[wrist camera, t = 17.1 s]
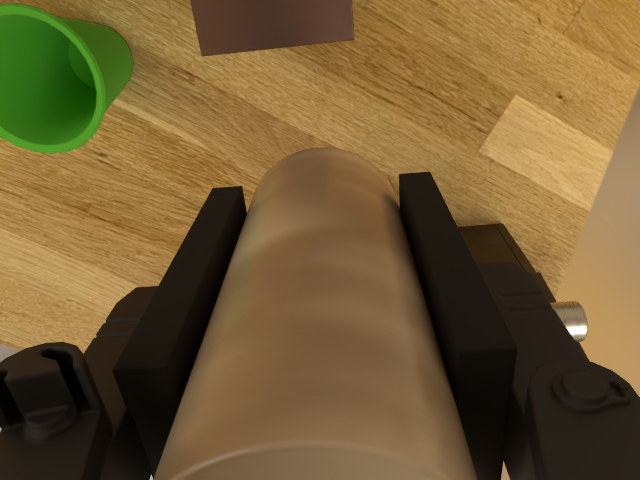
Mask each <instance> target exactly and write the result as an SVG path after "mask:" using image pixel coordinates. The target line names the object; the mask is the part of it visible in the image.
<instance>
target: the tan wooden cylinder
mask: <svg viewBox="0 0 640 480" xmlns="http://www.w3.org/2000/svg"><path fill="white" fill-rule="evenodd" d="M153 480H478V479H477V475H476V472H475V468H474V465H473V461H472V458H471V454H470V451H469V448H468V444H467V441H466V437H465V434H464V430H463V427H462V423H461V420H460V416H459V413H458V410H457V406H456V403H455V399H454V396H453V392H452V389H451V385H450V382H449V378H448V375H447V372H446V368H445V365H444V361H443V358H442V354H441V351H440V347H439V344H438V341H437V337H436V334H435V330H434V327H433V323H432V320H431V316H430V313H429V309H428V306H427V303H426V299H425V296H424V292H423V289H422V285H421V282H420V278H419V275H418V272H417V268H416V265H415V261H414V258H413V254H412V251H411V247H410V244H409V240H408V237H407V234H406V230H405V227H404V223H403V220H402V216H401V213H400V209H399V206H398V202H397V199H396V196H395V193H394V191H393V188H392V186H391V185H390V183H389V181H388V180H387V178H386V177H385V176H384V175H383V173H382V172H381V171H380V170H379V169H378V168H377V167H376V166H375V165H373V164H372V163H370V162H369V161H368V160H366V159H364V158H363V157H361V156H359V155H357V154H354V153H351V152H349V151H345V150H341V149H335V148H313V149H307V150H303V151H300V152H297V153H294V154H292V155H290V156H287V157H286V158H284V159H282V160H281V161H279V162H278V163H277V164H275V165H274V166H273V167H272V168H271V169H270V170H269V171H268V172H267V173H266V174H265V175H264V176H263V178H262V179H261V181H260V182H259V184H258V186H257V188H256V190H255V193H254V195H253V198H252V201H251V204H250V207H249V210H248V212H247V215H246V218H245V221H244V224H243V227H242V230H241V232H240V235H239V238H238V241H237V244H236V247H235V249H234V252H233V255H232V258H231V261H230V264H229V266H228V269H227V272H226V275H225V278H224V281H223V283H222V286H221V289H220V292H219V295H218V298H217V300H216V303H215V306H214V309H213V312H212V315H211V317H210V320H209V323H208V326H207V329H206V332H205V334H204V337H203V340H202V343H201V346H200V349H199V351H198V354H197V357H196V360H195V363H194V366H193V369H192V371H191V374H190V377H189V380H188V383H187V386H186V388H185V391H184V394H183V397H182V400H181V403H180V405H179V408H178V411H177V414H176V417H175V420H174V422H173V425H172V428H171V431H170V434H169V437H168V439H167V442H166V445H165V448H164V451H163V454H162V456H161V459H160V462H159V465H158V468H157V471H156V473H155V476H154V479H153Z"/></svg>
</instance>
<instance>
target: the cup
mask: <svg viewBox="0 0 640 480" xmlns="http://www.w3.org/2000/svg"><path fill="white" fill-rule="evenodd" d="M132 72H133V59H132V54H131V52H130V49H129V47H128V45H127V44H126V42H125V41H124V39H123V38H122V37H121V36H120V35H119V34H118V33H117V32H115V31H114V30H112V29H111V28H109V27H107V26H104V25H101V24H96V23H90V22H85V21H79V20H74V19H69V18H63V17H58V16H53V15H52V14H50V13H48V12H46V11H43V10H40V9H38V8H35V7H32V6H30V5H22V4H14V3H8V4H1V5H0V137H2V138H3V139H5V140H7V141H9V142H10V143H12V144H14V145H16V146H18V147H21V148H24V149H27V150H30V151H33V152H41V153H49V154H54V153H62V152H68V151H71V150H73V149H75V148H78V147H80V146H82V145H83V144H84V143H86V142H87V141H88V140H89V139H91V138H92V137H93V135H94V134H95V132H96V131H97V129H98V128H99V126H100V125H101V122H102V119H103V116H104V112H105V111H106V110H107V109H108V107H109V106H110V105H111V103H112V102H113V101H114V100H115V98H116V97H117V96H118V94H119V93H120V92H121V91H122V89H123V88H124V87H125V85H126V84H127V83H128V81H129V80H130V78H131V75H132Z"/></svg>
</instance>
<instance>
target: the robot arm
mask: <svg viewBox="0 0 640 480" xmlns="http://www.w3.org/2000/svg"><path fill="white" fill-rule="evenodd" d="M399 196H400V213H401V216H402V220H403V223H404V227H405V230H406V234H407V237H408V240H409V244H410V247H411V251H412V254H413V258H414V261H415V265H416V268H417V272H418V275H419V278H420V282H421V285H422V289H423V292H424V296H425V299H426V303H427V306H428V309H429V313H430V316H431V320H432V323H433V327H434V330H435V334H436V337H437V341H438V344H439V347H440V351H441V354H442V358H443V361H444V365H445V368H446V372H447V375H448V378H449V382H450V385H451V389H452V392H453V396H454V399H455V403H456V406H457V410H458V413H459V416H460V420H461V423H462V427H463V430H464V434H465V437H466V441H467V444H468V448H469V451H470V454H471V458H472V461H473V465H474V468H475V472H476V475H477V479H478V480H501V474H502V466H503V460H504V463H505V466H506V469H507V472H508V474H509V477H510V480H640V397H639V396H638V395H637V394H636V392H635V391H634V390H633V388H632V387H631V385H630V384H629V383H628V382H627V381H625V380H624V379H623V378H621V377H620V376H619V375H617V374H616V373H615V372H613V371H611V370H609V369H607V368H605V367H602V366H600V365H597V364H595V363H593V362H589V361H588V359H587V358H586V356H585V355H584V353H583V352H582V350H581V349H580V347H579V346H578V344H577V343H576V341H575V340H574V338H573V337H572V335H571V334H570V332H569V331H568V329H567V328H566V326H565V325H564V323H563V322H562V320H561V319H560V317H559V316H558V314H557V313H556V311H555V310H554V309H552V305H551V304H550V302H549V301H548V299H547V298H546V296H545V295H543V294H542V290H541V289H540V287H539V286H538V284H537V283H536V281H535V280H534V278H533V277H532V275H531V274H529V273H528V272H526V271H525V270H523V269H522V268H520V267H519V266H517V265H516V264H514V263H513V262H495V263H480V264H476V263H475V261H474V259H473V257H472V255H471V253H470V251H469V249H468V247H467V245H466V243H465V241H464V239H463V237H462V235H461V233H460V231H459V229H458V227H457V225H456V223H455V221H454V219H453V217H452V215H451V213H450V211H449V209H448V207H447V205H446V203H445V201H444V199H443V197H442V195H441V193H440V191H439V189H438V187H437V185H436V183H435V181H434V179H433V177H432V175H431V173H430V172H420V173H407V174H399ZM246 215H247V212H246V206H245V200H244V194H243V189H242V186H237V187H224V188H213V189H212V190H211V192H210V194H209V196H208V198H207V200H206V201H205V203H204V205H203V207H202V209H201V210H200V212H199V214H198V216H197V218H196V219H195V221H194V223H193V225H192V227H191V228H190V230H189V232H188V234H187V236H186V237H185V239H184V241H183V243H182V245H181V246H180V248H179V250H178V252H177V254H176V255H175V257H174V259H173V261H172V263H171V264H170V266H169V268H168V270H167V272H166V274H165V275H164V277H163V279H162V281H161V283H160V284H159V286H153V287H137V288H135V289H134V290H133V291H131V292H130V293H129V294H127V295H126V296H125V297H124V298H122V299H121V300H120V301H119V302H117V303H116V305H115V307H114V308H113V310H112V311H111V313H110V314H109V316H108V317H107V319H106V323H103V325H102V326H101V328H100V330H99V331H98V333H97V334H96V335H97V337H96V338H94V339H93V340H92V342H91V343H90V345H89V346H88V348H87V349H86V351H85V353H84V354H83V353H82V352H81V351H80V349H79V348H78V347H77V346H76V345H72V344H69V343H65V342H55V343H44V344H41V345H37V346H33V347H30V348H26V349H24V350H22V351H20V352H18V353H16V354H14V355H12V356H10V357H8V358H6V359H4V360H3V361H2V362H0V427H1V428H2V430H1V432H0V480H149V479H150V476H151V474H152V477H153V479H154V476H155V473H156V471H157V468H158V465H159V462H160V459H161V456H162V454H163V451H164V448H165V445H166V442H167V439H168V437H169V434H170V431H171V428H172V425H173V422H174V420H175V417H176V414H177V411H178V408H179V405H180V403H181V400H182V397H183V394H184V391H185V388H186V386H187V383H188V380H189V377H190V374H191V371H192V369H193V366H194V363H195V360H196V357H197V354H198V351H199V349H200V346H201V343H202V340H203V337H204V334H205V332H206V329H207V326H208V323H209V320H210V317H211V315H212V312H213V309H214V306H215V303H216V300H217V298H218V295H219V292H220V289H221V286H222V283H223V281H224V278H225V275H226V272H227V269H228V266H229V264H230V261H231V258H232V255H233V252H234V249H235V247H236V244H237V241H238V238H239V235H240V232H241V230H242V227H243V224H244V221H245V218H246Z"/></svg>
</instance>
